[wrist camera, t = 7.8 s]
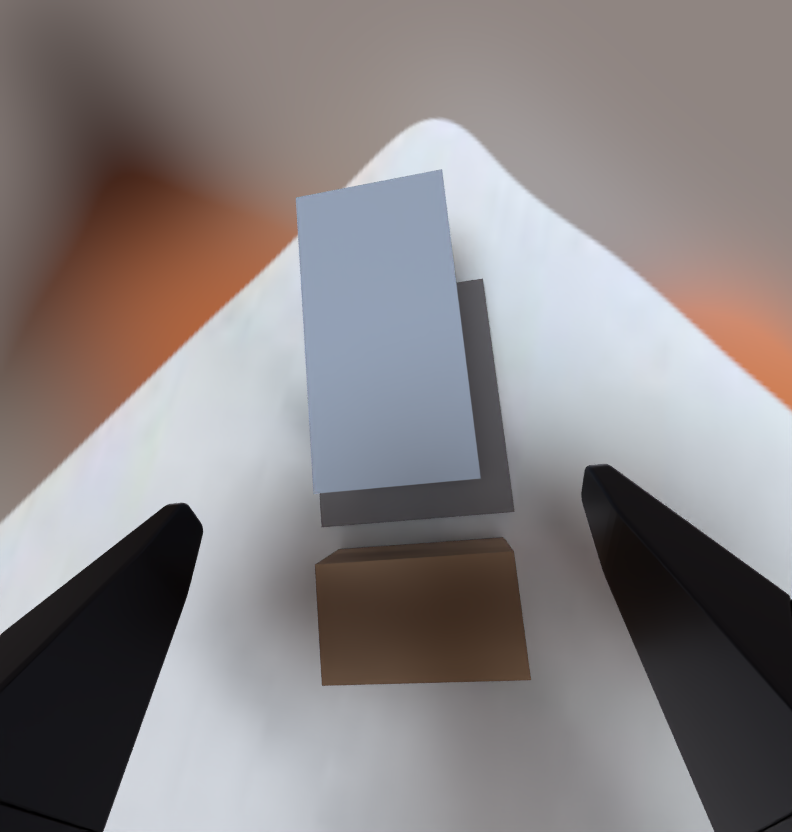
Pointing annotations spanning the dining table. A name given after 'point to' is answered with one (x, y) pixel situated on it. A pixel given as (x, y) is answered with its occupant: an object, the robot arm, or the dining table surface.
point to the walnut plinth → (421, 614)
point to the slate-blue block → (384, 337)
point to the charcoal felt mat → (494, 472)
